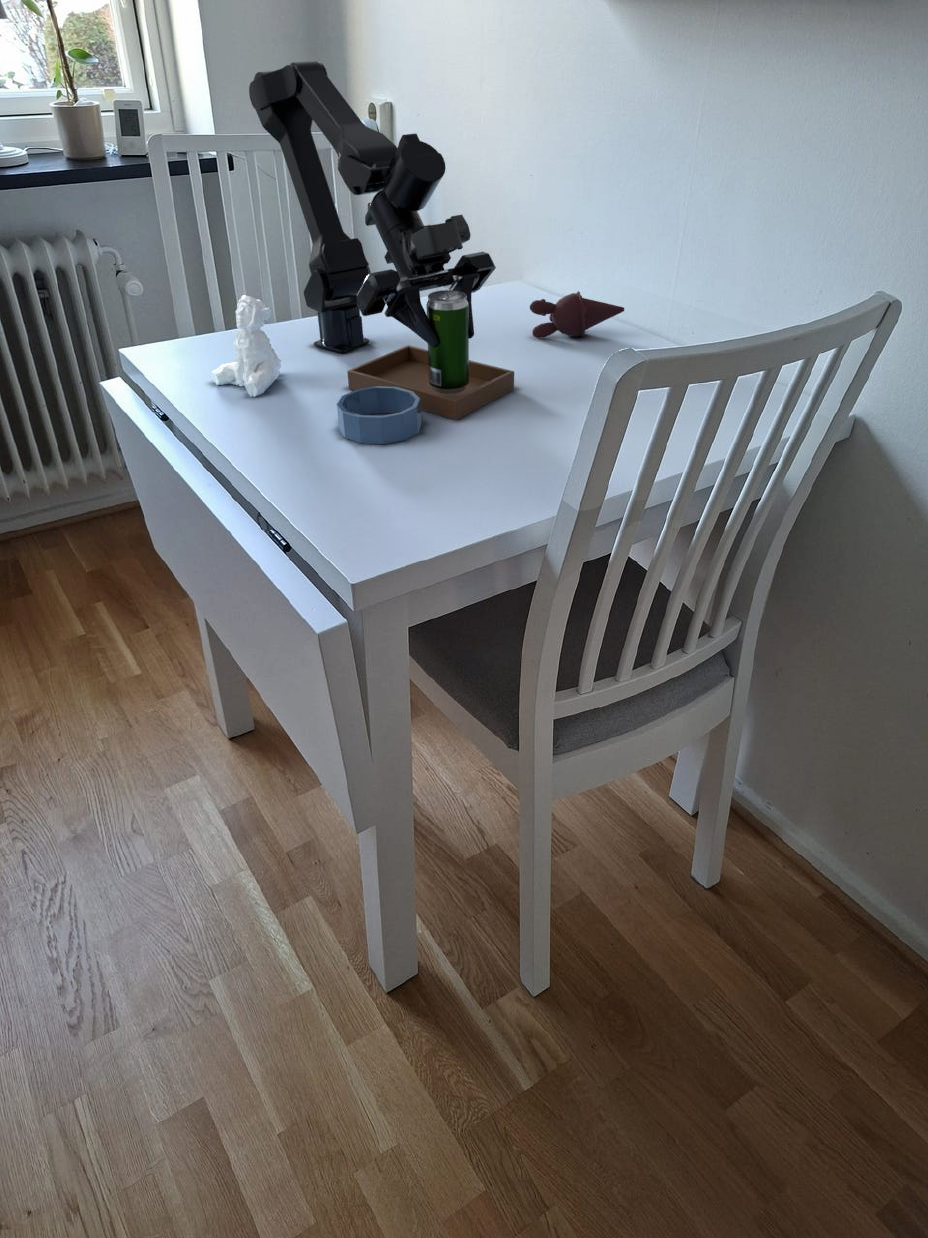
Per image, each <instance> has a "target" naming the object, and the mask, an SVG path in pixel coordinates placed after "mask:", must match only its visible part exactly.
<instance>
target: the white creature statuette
mask: <svg viewBox="0 0 928 1238" xmlns="http://www.w3.org/2000/svg"><path fill="white" fill-rule="evenodd" d="M234 313H235V319H236V320H235V323H236V328H237V331H236V335H235V337H236V338H235V340H234V342H233V343H232V345H233V347H234V349H235V351H236V353H235V355H236V360H235V362H230V363H225V364H222V365H220V366H218V368H216V369H214V370H212V371H211V375H212V379H213V381H214V383H215V385H216V386H220V385H221V386H224V385H228V384H230V385H234V386H237V387H238V386H239V387H244V388H245V389H246V393H247V394H248V395H249V397H254V398H255V397H257V396H260V395H262V394H265V391H267V389H268V388H269V387H271V385H272V384H274V382H275V381H276V380H277V379H278V378H279V376H280V374H281V371H280V370H281V367H282V360H281V359H280V358H279V356H278V354H277V353H276V352H275V349H274V348H273V346H272V344H271V339H270V338H269V337H268V335H267V333H266V332H265V331H264V330H263V329H261V328H263V327H264V326H265V324H266V321H267V320H268V319H270V317H271V315H272V308H271V307H267V305H265V304H264V302H263V301H262V300H261V299H256V298H255V297H253V296H251V295H242V296H240V298H239V300H238V301H237V304H236V309H235V312H234Z"/></svg>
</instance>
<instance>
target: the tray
mask: <svg viewBox="0 0 928 1238" xmlns="http://www.w3.org/2000/svg"><path fill="white" fill-rule="evenodd" d="M346 373H347V382H348V383H347V384H348V389H350V390H352V391H354V390H357V389H362V388H368V387H374V386H387V387H399V388H403V389H406V390H410V391H413V392H414V393H415V394H416V395H417V396H418V397H419V398H420V403H421V411H424V412H428V413H431V414H434V415H437V416H441V417H445V418H448V419H451V420H455V421H457V420H459V419H461V418H463V417H465V416H467V415H469V414H470V413H473V412H475V411H476V410H479V409H480V408H482V407H484V406H485V405H487V404H489V403H491V402H493V401H495V400H497V399H499V398H500V397H502V396H504V395H506V394H508V393H510V392H512V391H513V390H514V389H515V371H514V370H510V369H506V368H502V367H499V366H494V365H490V364H486V363H482V362H478V361H474V360H470V359H469V383H468V385H467V387H466V389H465V390H464V391H462V392H459V393H452V394H444V393H438V392H436V391H434V390H433V389H432V388H431V386H430V383H429V368H428V349H425V348H421V347H417V346H414V345H410V344H408V345H406V346H403V347H400V348H397V349H395V350H393V351H391V352H388V353H386V354H384V355H381V356H378V357H377V358H374V359H372V360H370V361H367V362H365V363H362V364H360V365H357V366H355V367H354V368H351V369H348V370H347V371H346Z"/></svg>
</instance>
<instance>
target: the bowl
mask: <svg viewBox="0 0 928 1238" xmlns="http://www.w3.org/2000/svg"><path fill="white" fill-rule="evenodd" d="M336 410H337V420H338V430H339V432H340V433H341V434H342V435H343V437H344V438H345V439H347V440H350V441H353V442H356V443H359V444H365V445H367V444H368V445H387V444H392V443H398V442H403V441H405V440H407V439H409V438H412V437H413V436H415V435H417V434H418V433H419V432H420V429H421V427H422V410H421V403H420V398H419V397H418V396H417V395H416V394H415V393H414V392H413V391H410V390H406V389H403V388H399V387H387V386H374V387H368V388H362V389H357V390H352V391H350V392H347V393H345V394H343V395H342V396H341V397H340V398H339V400H338V401H337V403H336ZM376 414H384V415H376Z"/></svg>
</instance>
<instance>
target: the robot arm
mask: <svg viewBox="0 0 928 1238" xmlns="http://www.w3.org/2000/svg"><path fill="white" fill-rule="evenodd" d="M248 95H249V100H250V103H251V105H252V108H253V109H254V111H255V112H256V114H257V117H258V119H259V122H260V124H261V126H262V128H263V129H264V130H265V131H266V132H267V133H268V134H269V135H271V137H272V138H273V139H274V140H275V141H276V142H277V143H278V145H279V146H280V149H281V151H282V154H283V157H284V160H285V164H286V166H287V170H288V172H289V175H290V178H291V182H292V185H293V188H294V190H295V194H296V196H297V199H298V200H297V201H298V203H299V206H300V209H301V212H302V215H303V218H304V221H305V224H306V226H307V230H308V234H309V236H310V239H311V242H312V247H311V252H310V257H309V261H308V267H309V271H310V277H309V279H308V281H307V284H306V286H305V288H304V290H303V297H304V300H305V304H306V307H307V308H309V309H312V310H314V311H316V312H317V313H316V314H317V322H318V323H317V324H318V331H319V338H320V339H318V340H316V341H314V342H312V343H313V346H314V347H317V348H321V349H324V350H328V351H333V352H336V353H340V354H343V353H347V352H349V351H351V350H354V349H357V348H359V347H362V346H364V345H366V344H369V343H370V339H369V338H366V337H364V330H363V318H362V316H363V317H368V316H369V317H370V316H372V315H373V316H374V315H379V314H382V313H383V311H384V309H385V307H386V306H387V308H386V309H385V311H384V315H385V317H386V318H393V319H394V320H396V321H397V322H399V323H400V324H402V325H403V326H405V327H407V328H408V329H409V330H411V331H412V332H413V333H414V334H416V335H417V336H418V337H419V338H421V339H422V340H423V341H424V342H425V343H427V345H428V344H429V345H430V346H432V347H433V348H435V347H437V345H438V340H437V337H436V334H435V331H434V329H433V327H432V325H431V323H430V321H429V319H428V317H427V312H426V311H425V308H424V307H423V304H422V301H421V292H423V291H428V290H432V289H433V290H434V289H438V288H444V290H454V291H460V292H463V293H465V294H466V295H467V298H466V299H467V301H468V304H469V340H470V339H472V338H473V337H474V336H475V327H474V325H475V324H474V317H473V315H474V314H473V307H472V305H473V304H472V293H476V292H478V291H480V290H481V288H482V287H483V286H484V285H485V283H487V280H488V279H489V277H490V276H491V275H492V274H493V272H494V271H495V270H496V268H497V267H496V265H495V262H494V260H493V259H492V256H491V254H490V253H488V252H486V251H477V252H473V253H469V254H468V253H467V254H463V255H461V257H460V258H459V260H458V261H457V263H456V264H455V265H454V267H452V268H451V267H450V268H448V269H445V267H444V266H445V265H446V264H449V262H450V261H451V259H452V257H451V253H453V252H455V251H456V250H458V251H459V250H462V249H463V248H464V246H463V244H465V243H466V242H468V241H470V239H471V231H470V226H469V224H468V222H467V220H466V219H465V217H464V215H463V214H456V215H452V216H450V218H446V219H445V221H444V222H443V223H441V222H440V223H436V224H435V223H434V224H427V225H425V224H424V222H423V219H422V217H421V216H420V214H419V212H418V211H421V210H423V209H424V208H426V207H427V204H428V203H429V202H430V200H431V197H432V196H433V194H434V193H435V191H436V189H437V188H438V186H439V184H440V182H441V181H442V179H443V177H444V175H445V173H446V161H445V158H444V157H443V155H442V153H440V152H439V151H438V150H437V149H436V148H435V147H433V146H432V145H431V144H429V143H427V142H425V141H422V140H420V138H419V136H418V134H417V133H416V132H415V133H408V134H407V133H406V134H402V135H401V137H400V138H399V142H398V144H397V145H398V146H397V145H396V144H394V142H393V141H392V140H390V139H389V138H388V137H387V136H386V135H385V134H383V132H380V131H377V130H375V129H373V128H370V127H368V126H367V125H365V123H364V122H363V121H362V120H361V119H360V117H359V116H358V115H357V114H356V112H355V111H354V109H353V108H352V107H351V105H349V103H348V101H347V100H346V99H345V98H344V96H343V95H342V94H341V92H340V91H339V90H338V88H337V87H336V86H335V84H334V83H333V82H332V80H331V78H329V75H328V72H327V69H326V67H325V65H324V64H323V63H322V62H318V61H317V60H309V61H294V62H293V61H292V62H290V63H289V64H286V65H285V66H283V67H281V68H279V69H276V70H269V71H268V70H267V71H257V72H256V73H255V75H254V77H253V80H252V81H251V82H250V83H249V87H248ZM313 122H314V124H315V125H316V126H317V127H318V129H319V130H320V131H321V133H322V134H323V135H324V137H325V139H326V140H327V141H328V142H329V144H330V145H331V146H332V148H333V150H334V151H335V153H336V155H337V171H338V173H339V175H340V177H341V178H342V180H343V182H344V184H345V185H346V187H347V189H348V190H349V192H351V194H352V195H354V196H363V195H370V194H371V195H372V194H375V195H374V196H373V198H372V200H371V202H368V203H367V211H366V214H365V215H364V224H365V226H367V227H371V226H375V227H376V230H377V232H378V235H379V236H380V238H381V240H382V243H383V244H384V247H385V249H386V253H385V255H384V257H383V258H384V260H385V262H386V264H387V265H388V264H389V265H390V264H393V267H394V268H395V270H394V269H391V268H390V269H385V270H381V271H376V272H375V271H374V272H371V268H370V267H369V265H370V263H369V262H368V260H367V258H366V255H365V252H364V248H363V244H362V242H361V241H360V239H359V238H358V237H355V238H351V237H350V236H348V234H347V233H345V231H344V229H343V225H342V223H341V220H340V216H339V214H338V210H337V207H336V204H335V201H334V198H333V194H332V192H331V188H330V186H329V183H328V180H327V177H326V173H325V171H324V167H323V164H322V161H321V158H320V155H319V152H318V150H317V145H316V143H315V140H314V137H313V133H312V126H313ZM361 315H362V316H361Z"/></svg>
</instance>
